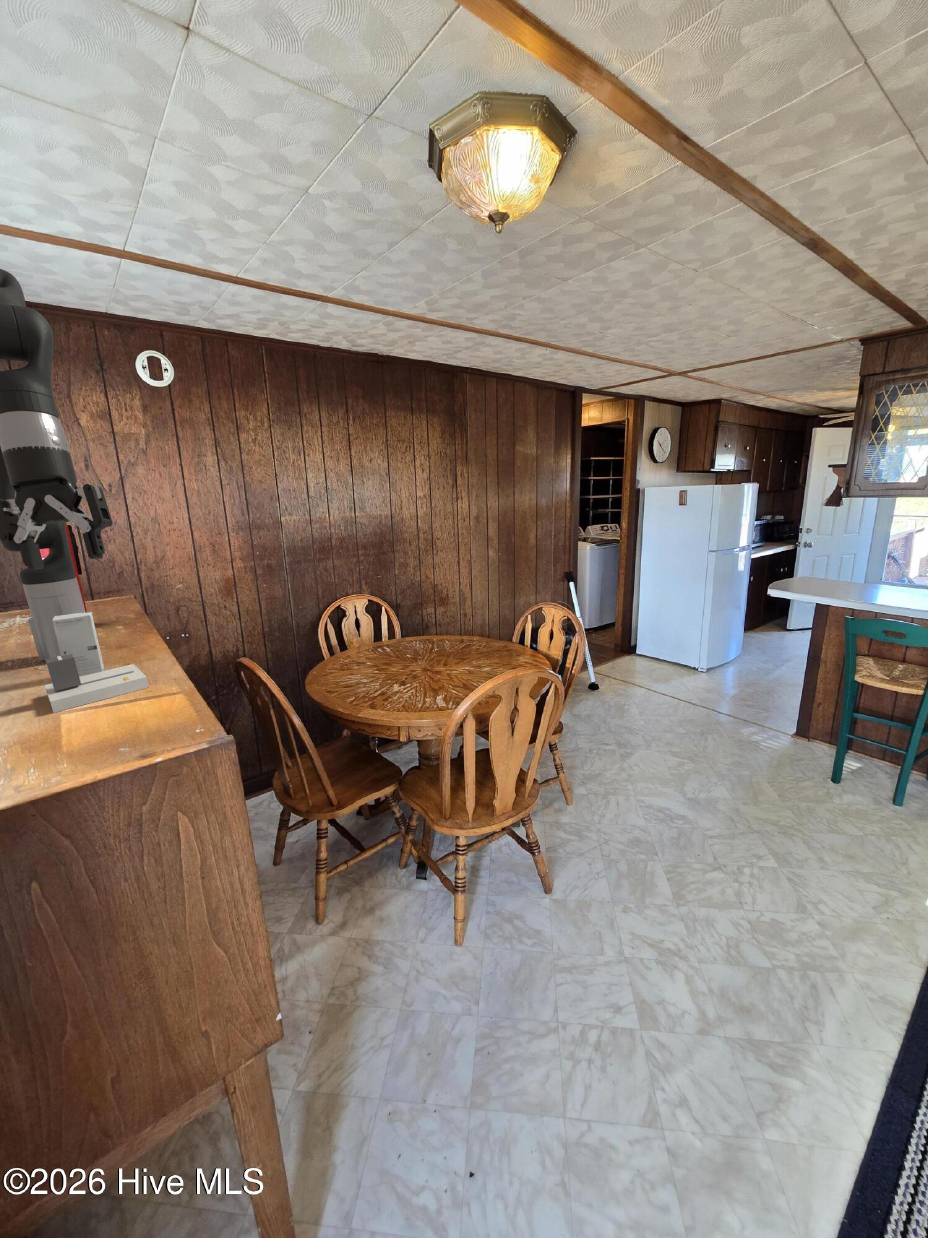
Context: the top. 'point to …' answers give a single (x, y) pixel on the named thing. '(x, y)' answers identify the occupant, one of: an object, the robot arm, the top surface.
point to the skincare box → (79, 641)
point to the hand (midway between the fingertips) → (66, 564)
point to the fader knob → (63, 672)
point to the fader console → (97, 687)
